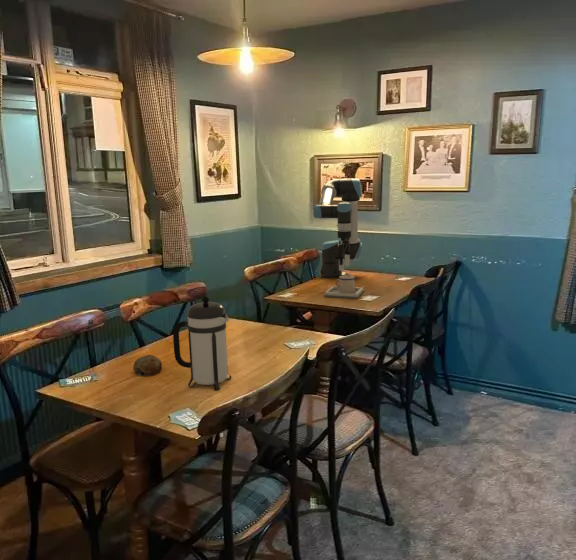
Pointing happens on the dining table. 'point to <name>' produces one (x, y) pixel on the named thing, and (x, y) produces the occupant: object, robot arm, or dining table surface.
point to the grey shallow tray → (335, 293)
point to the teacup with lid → (346, 283)
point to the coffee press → (205, 343)
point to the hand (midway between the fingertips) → (344, 268)
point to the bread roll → (147, 366)
